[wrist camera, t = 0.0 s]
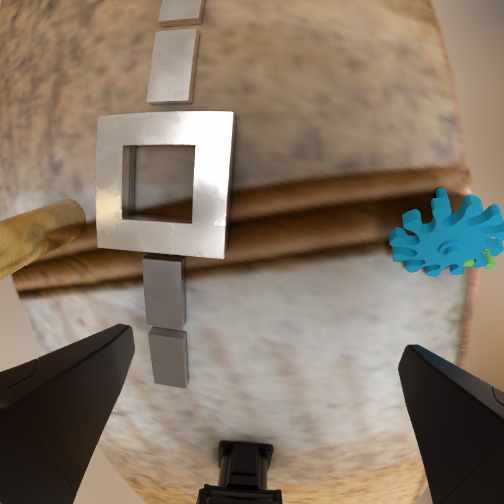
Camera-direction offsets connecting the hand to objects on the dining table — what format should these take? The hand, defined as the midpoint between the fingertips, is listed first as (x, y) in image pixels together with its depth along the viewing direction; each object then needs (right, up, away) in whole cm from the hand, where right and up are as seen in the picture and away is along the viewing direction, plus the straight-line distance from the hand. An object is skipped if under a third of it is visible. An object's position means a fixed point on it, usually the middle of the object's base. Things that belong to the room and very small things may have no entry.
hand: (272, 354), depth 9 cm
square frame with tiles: (-7, +8, +13) cm, 17 cm away
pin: (-17, +6, +14) cm, 23 cm away
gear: (+15, +5, +14) cm, 21 cm away
